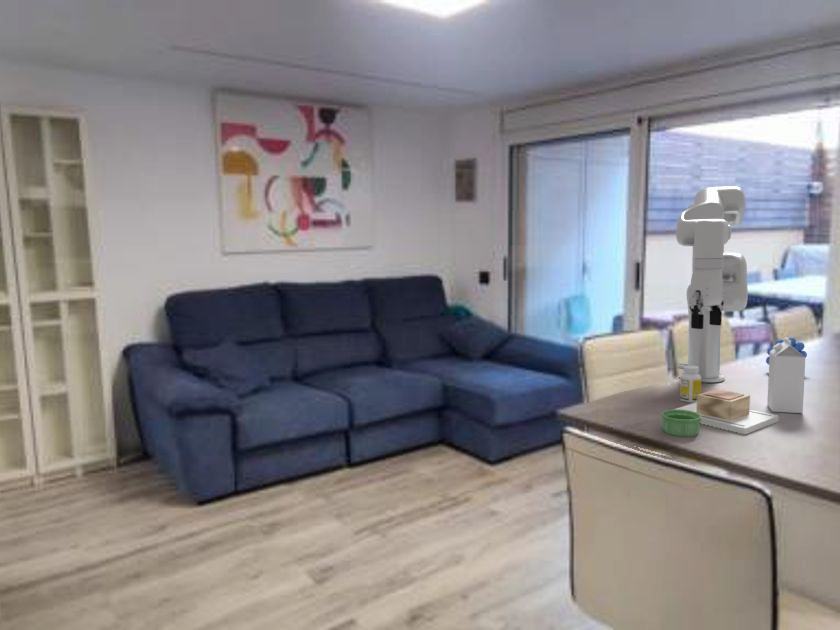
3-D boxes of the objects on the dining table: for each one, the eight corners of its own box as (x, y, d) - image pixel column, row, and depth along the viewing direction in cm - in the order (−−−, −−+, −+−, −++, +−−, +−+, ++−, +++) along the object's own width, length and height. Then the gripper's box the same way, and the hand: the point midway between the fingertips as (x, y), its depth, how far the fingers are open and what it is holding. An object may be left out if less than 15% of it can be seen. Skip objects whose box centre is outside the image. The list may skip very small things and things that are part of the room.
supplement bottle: (700, 399, 183) (701, 365, 181) (700, 403, 178) (701, 369, 177) (680, 397, 185) (681, 364, 184) (679, 402, 180) (680, 368, 179)
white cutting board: (669, 416, 167) (669, 410, 167) (703, 405, 176) (703, 399, 176) (745, 434, 151) (745, 428, 151) (778, 421, 160) (778, 415, 160)
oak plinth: (696, 412, 164) (696, 393, 164) (715, 406, 170) (715, 388, 169) (730, 420, 157) (731, 400, 156) (749, 413, 162) (750, 394, 162)
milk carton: (796, 406, 172) (800, 337, 170) (802, 414, 166) (806, 341, 163) (767, 405, 175) (770, 336, 172) (772, 412, 168) (775, 341, 166)
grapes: (805, 372, 212) (807, 336, 210) (806, 376, 206) (808, 339, 204) (765, 369, 218) (767, 334, 216) (765, 373, 212) (766, 337, 210)
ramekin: (697, 440, 148) (698, 421, 148) (657, 434, 153) (657, 416, 153) (703, 429, 156) (704, 412, 155) (665, 424, 161) (665, 407, 160)
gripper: (711, 263, 184) (709, 322, 186) (678, 266, 173) (676, 328, 175) (737, 263, 178) (735, 324, 180) (705, 266, 167) (703, 331, 169)
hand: (706, 326), depth 178 cm, fingers open, 9 cm apart
